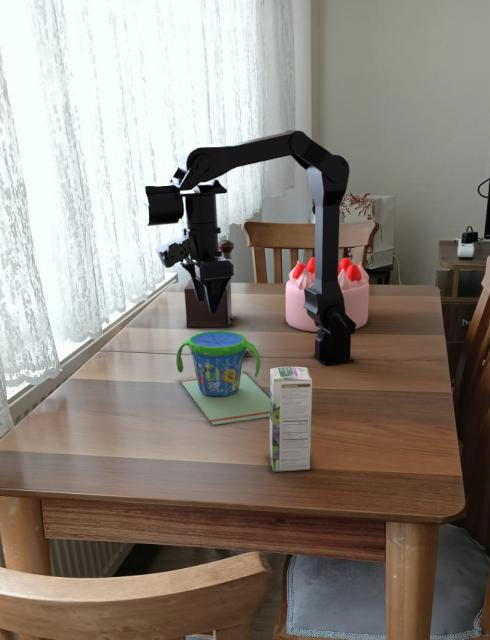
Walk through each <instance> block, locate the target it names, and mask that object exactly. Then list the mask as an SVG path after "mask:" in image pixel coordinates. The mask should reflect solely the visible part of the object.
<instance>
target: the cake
mask: <svg viewBox="0 0 490 640" xmlns="http://www.w3.org/2000/svg"><path fill="white" fill-rule="evenodd" d="M288 278H289V279H288V280H287V281H286V284H285V322H286V323H287V324H288V325H289V326H290V327H292V328H294V329H297V330H300V331H307V332H313V333H317V330H320V328H319V327H316V326H315V323H314V320H313V319H311V318H310V317H309V316H308V314H307V310H306V308H304V307H303V306H304V303H305V294H304V288H311V286H312V284H313V282H314V278H315V256H312V257H310V259H309V260H308V262H307V264H304V263H302V262H301V263H300V260H297V261H296V265H295V267H293V269H292V270H290V272H289V273H288ZM369 281H370V276H369V274H368V273H367V271H366V270H365V269H364V267H363V264H362V262H361V261H360V262H359V263H358V265H357V264H356V263H355V264H354V263H353V262H352V260H351V259H350V258H349V257H343V258H342V259H341V261H339V263H338V282H339V285H340V288H341V291H342V293H343V296H344V303H345V311H346V313H345V314H346V315H347V316H348V317H350V318H351V319H352V320H353V321H354V322H355V323H356V328H355V330H357V329H359V328H362V327H363V326H365V325H367V322H368V317H369V300H370V299H369V298H370V283H369Z"/></svg>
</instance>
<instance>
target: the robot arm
mask: <svg viewBox="0 0 490 640" xmlns="http://www.w3.org/2000/svg"><path fill="white" fill-rule="evenodd" d="M285 157H291V158H292V159H293V160H294V161H295V162H296V163H297V164H298V165H299V166H300V167H301V168H303V169H304V170H305V171H306V172H307V179H308V187H309V190H310V193H311V196H312V199H313V202H314V207H315V208H314V209H315V211H314V224H315V225H314V257H315V278H314V282H313V284H312V286H311V288H304V294H305V303H304V306H303V307H304V308H306V310H307V314H308V316H309V317H310V318H311V319H313V320H314V323H315V326H316V327H319V328H320V330H317V332H316V335H317V336H316V337H315V338H314V354H313V358H315V359H316V360H317V361H319V362H320V363H322V364H323V365H325V366H331V365H337V364H345V363H352V362H354V360H355V358H353V357H352V356H351V347H352V346H351V345H352V335H354V333H355V331H356V329H355V328H356V323H355V322H354V321H353V320H352V319H351V318H350V317H348V316H347V315H346V314H345V313H346V311H345V303H344V296H343V293H342V291H341V288H340V285H339V282H338V264H340V261H339V260H340V259H339V258H340V257H339V256H340V255H339V254H340V223H341V222H340V218H341V217H340V216H341V215H340V214H341V213H340V212H341V204H342V202H343V199H344V197H345V195H346V192H347V190H348V184H349V180H350V179H349V178H350V173H351V172H350V171H351V170H350V164H349V162H348V161H347V160H346V158H344V157H343V156H342V155H340V154H334V153H332V152H330V150H328V149H326V148H325V147H323V146H322V145H320V144H319V143H318V142H316V141H314V140H313V139H312V138H311V137H309V136H308V135H307V134H306V133H305V131H303V130H297V129H287V130H286V131H284V132H281V133H275V134H271V135H266V136H262V137H257V138H251V139H248V140H244V141H239V142H234V143H230V144H229V143H228V144H190V145H187V146H185V147H183V149H182V150H181V152H180V154H179V155H178V159H177V163H178V164H177V165H178V166H177V167H176V169H175V171H174V173H173V174H172V176H171V178H170V180H169V182H168V183H166V184H143V185H142V195H141V203H140V208H141V214H142V219H143V223H144V225H145V226H146V227H152V226H162V225H164V226H165V225H173V224H178V223H180V220H183V217H185V218H184V219H185V225H183V227H182V228H181V235H180V236H178V237H175V238H173V239H171V240H168V241H167V242H164V243H163V244H161V245H158V246H156V248H155V251H156V253H157V256H158V258H159V260H160V261H161V264H162V265H163V266H164V268H166V269H170V268H172V267H175V264H177V263H179V265H180V267H182V268H183V269H184V270H185V271H187V272H188V275H189V277H190V280H191V281H192V284H193V287H194V290H195V294H196V297H197V300H198V301H203V300H204V297H205V293H206V296H207V301H208V306H209V310H210V312H211V313H215V312H216V311H217V309H218V306H219V304H220V301H221V298H222V296H223V294H224V291H225V289H226V287H227V284H228V282H229V280H232V277H234V276H235V270H234V269H235V268H234V264H233V263H232V262H231V261H230V259H228V260H227V259H226V258H224V257H222V251H221V250H220V249H219V246H218V243H219V234H221V233H222V230H221V229H222V228H221V227H220V226H218V213H217V212H218V211H217V196H216V195H223V194H227V193H228V189H227V188H226V187H225V186H223V185H222V184H221V182H220V181H219V179H217V178H220V177H222V176H224V175H226V174H227V173H229V172H230V171H232V170H234V169H237V168H240V167H244V166H249V165H254V164H257V163H263V162H267V161H271V160H276V159H280V158H285ZM208 182H209V183H208ZM200 183H201V184H200ZM203 183H204V184H203Z"/></svg>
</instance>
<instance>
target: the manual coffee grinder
mask: <svg viewBox="0 0 490 640" xmlns="http://www.w3.org/2000/svg"><path fill="white" fill-rule="evenodd" d="M218 246H219V249H220V250H221V251H222V257H224V258H226V259H227V260H232V256H231V255H232V251H233V250H234V247H235V244H234V242H233V241H232V240H229V239H222V240H220V241H218ZM231 282H232V279H230V280H229V282H228V284H227V287H226V289H225V291H224V294H223V296H222V298H221V301H220V304H219V306H218V309H217V311H216V312H215V313H211V312H210V310H209V306H208V301H207V296H206V293H205V297H204V300H203V301H198V300H197V297H196V294H195V290H194V287H193V284H192V281H191V279H189V281H188V282H187V284H186V286H185V287H184V291H183V292H184V302H185V303H184V304H185V318H186V328H191V329H193V328H195V329H196V328H199V329H201V328H202V329H203V328H204V329H205V328H206V329H207V328H208V329H211V328H229V327H230V326H231V324H232V322H233V321H234V319H235V316H234V315H233V311H232V309H233V308H232V305H233V304H232V285H231Z"/></svg>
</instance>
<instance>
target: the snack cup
mask: <svg viewBox="0 0 490 640" xmlns="http://www.w3.org/2000/svg"><path fill="white" fill-rule="evenodd" d="M185 346H187V347H188V348H189V350H190V352H191V356H192V362H193V367H194V372H195V378H197V381H198V386H199V389H200V391H201V392H202V393H204V394H205V395H210V396H219V395H221V396H227V395H230V394H233V393H235V392H236V391H238V389H239V385H240V377H241V372H242V371H243V369H242V368H243V361H244V358H245V354H246V353H245V349H246V348H248V350H249V351H250V353H251V354H252V356H253V357H254V359H255V360H256V363H255V373H254V377H255V378H258V375H259V373H260V369H261V358H260V353H259V351H258V349H257V348H256V346H255V345H254V344H253V343H251V342H250V341H249V340H247V338H246V336H245V335H243V334H241V333H238V332H235V331H228V330H212V331H211V330H209V331H204V332H203V331H202V332H199V333H196V334H194V335H192V336H191V337H189V338H188V339H186V340H185V341H184V342H183V343H181V345H180V346H179V347H178V350H177V353H176V358H175V359H176V361H175V363H176V369H177V372H178V373H180V374H182V373H183V371H184V363H183V358H182V352H183V348H184V347H185Z"/></svg>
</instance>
